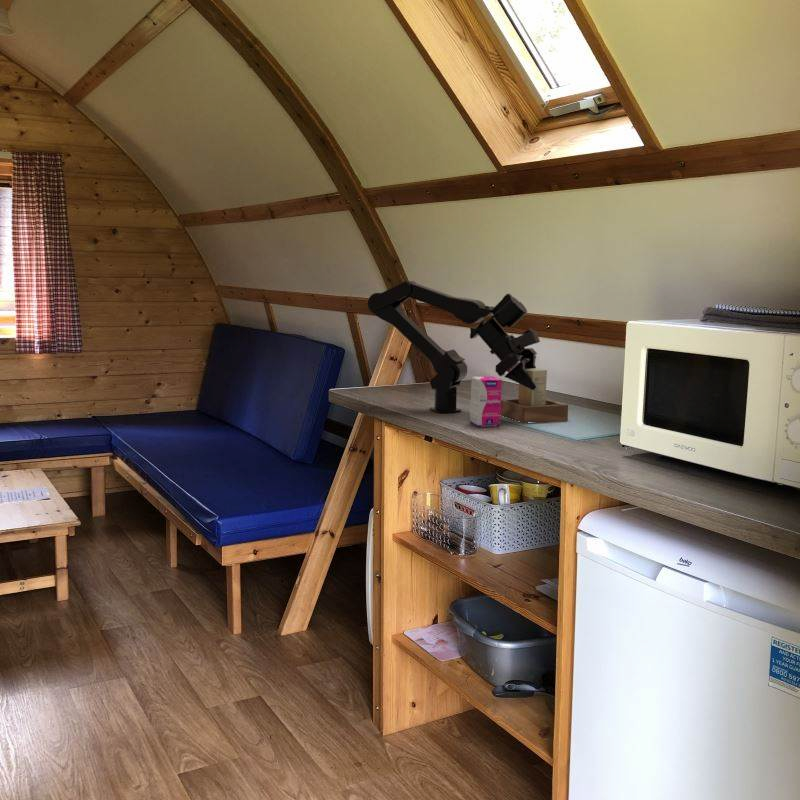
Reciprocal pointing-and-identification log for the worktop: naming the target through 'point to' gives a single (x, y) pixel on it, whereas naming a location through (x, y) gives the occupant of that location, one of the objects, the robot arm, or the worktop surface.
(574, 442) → the worktop surface
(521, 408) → the shallow wooden tray
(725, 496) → the worktop surface
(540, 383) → the skincare box
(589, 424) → the worktop surface
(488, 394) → the supplement box
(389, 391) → the worktop surface
